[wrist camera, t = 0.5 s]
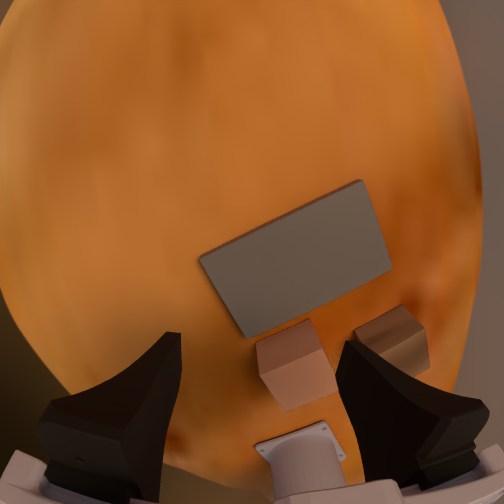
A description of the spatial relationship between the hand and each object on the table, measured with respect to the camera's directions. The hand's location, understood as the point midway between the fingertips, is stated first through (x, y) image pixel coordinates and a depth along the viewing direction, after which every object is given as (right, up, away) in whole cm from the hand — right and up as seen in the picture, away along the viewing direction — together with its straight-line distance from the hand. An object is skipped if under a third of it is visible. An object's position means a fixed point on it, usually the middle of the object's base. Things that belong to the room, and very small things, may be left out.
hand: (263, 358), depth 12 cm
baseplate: (+3, +4, +9) cm, 10 cm away
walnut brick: (+11, -3, +11) cm, 16 cm away
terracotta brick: (+3, -3, +11) cm, 12 cm away
